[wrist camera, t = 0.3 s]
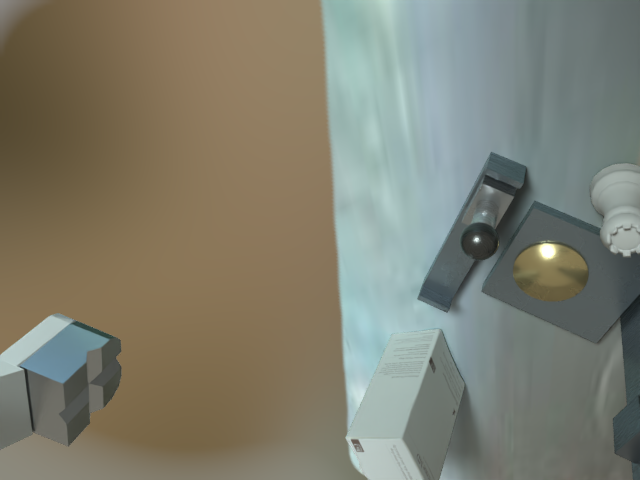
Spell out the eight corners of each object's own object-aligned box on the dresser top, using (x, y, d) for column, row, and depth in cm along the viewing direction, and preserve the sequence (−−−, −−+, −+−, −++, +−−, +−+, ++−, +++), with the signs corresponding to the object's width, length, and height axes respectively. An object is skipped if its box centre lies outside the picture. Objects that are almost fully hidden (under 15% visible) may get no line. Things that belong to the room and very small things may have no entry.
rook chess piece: (576, 182, 46) (576, 235, 40) (629, 148, 43) (637, 201, 37) (612, 221, 47) (617, 279, 41) (666, 190, 44) (680, 248, 38)
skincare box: (466, 383, 62) (440, 507, 51) (414, 387, 65) (378, 504, 54) (439, 323, 59) (404, 441, 48) (386, 330, 62) (341, 442, 51)
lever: (484, 172, 47) (469, 222, 41) (517, 186, 46) (507, 239, 40) (463, 210, 49) (447, 263, 43) (495, 224, 49) (483, 279, 43)
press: (491, 151, 47) (453, 284, 33) (741, 256, 45) (812, 445, 31) (424, 280, 57) (373, 424, 43) (627, 372, 54) (643, 557, 40)
